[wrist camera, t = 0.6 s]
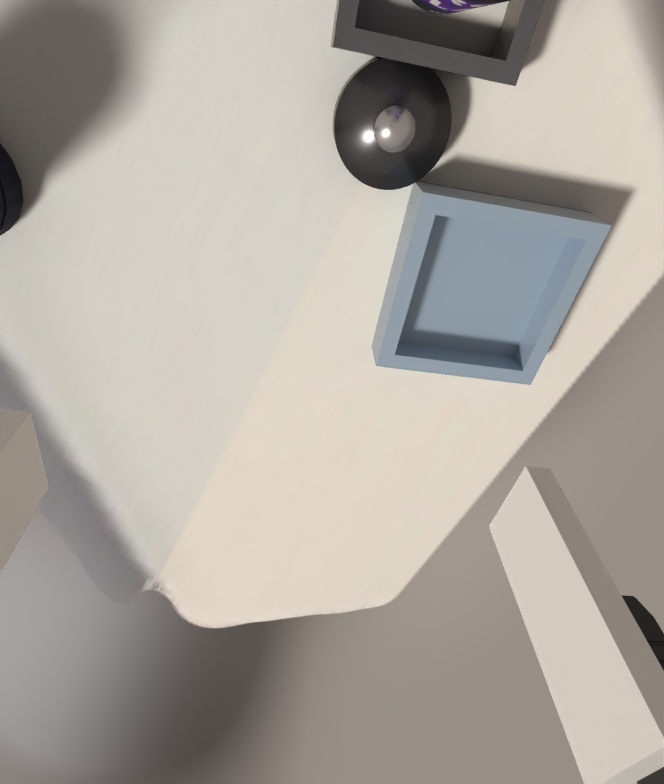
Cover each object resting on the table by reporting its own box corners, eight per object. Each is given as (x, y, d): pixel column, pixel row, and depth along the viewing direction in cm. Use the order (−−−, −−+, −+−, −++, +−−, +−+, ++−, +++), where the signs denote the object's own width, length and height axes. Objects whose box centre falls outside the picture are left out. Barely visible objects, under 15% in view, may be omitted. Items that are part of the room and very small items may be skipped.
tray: (413, 180, 32) (422, 192, 30) (589, 212, 34) (611, 225, 31) (371, 346, 39) (376, 365, 37) (517, 364, 41) (530, 384, 39)
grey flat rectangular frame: (370, -238, 21) (377, -269, 19) (583, -174, 23) (611, -196, 21) (313, 171, 31) (314, 180, 29) (464, 198, 33) (475, 208, 31)
